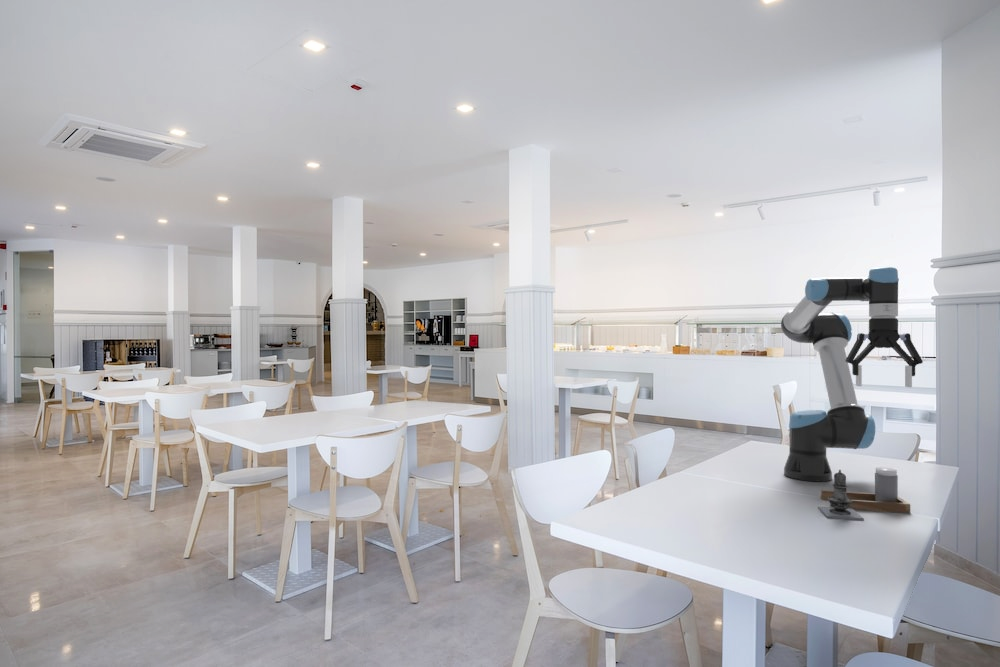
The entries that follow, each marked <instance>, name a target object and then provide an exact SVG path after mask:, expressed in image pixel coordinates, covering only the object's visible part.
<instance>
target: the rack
mask: <svg viewBox="0 0 1000 667" xmlns="http://www.w3.org/2000/svg"><path fill="white" fill-rule="evenodd" d="M833 494H834V490H828V489H827V490H824V489H820V499H821V500H825V501H826V500H829V499H828V497H832V496H833ZM846 495H847V498H848V499H851V500H852V502H851V505H850V507H849V508H851V509H853V510H855V511H873V512H885V513H902V514H911V504H910V503H909V502H907V501H906V500H904V499H903V498H901V497H899V496H898V503H897V502H881V501H875V492H874V493H873V492H861V491H860V492H858V491H846ZM829 504H830V503H829ZM829 507H832V506H831V504H830V505H829Z"/></svg>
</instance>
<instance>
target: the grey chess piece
mask: <svg viewBox="0 0 1000 667" xmlns="http://www.w3.org/2000/svg"><path fill="white" fill-rule="evenodd" d="M832 487H833V491H834V494H833V496H832V497H828V499H829V504H831V506H832V507H834V508H832V509H830V510H829V511H830V512H832V513H835V514H840V515H850V514H851V512H849V511H848V510H846V509H848V508H849V507H850V505H851V502H852V500H851V499H848V498H847V495H846V492H847V488H848V486H847V476H846V474H844V473H843V472H842V470H841V469H838V472H835V473H834V474H833V484H832Z"/></svg>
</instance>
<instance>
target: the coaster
mask: <svg viewBox="0 0 1000 667" xmlns="http://www.w3.org/2000/svg"><path fill="white" fill-rule="evenodd" d="M832 508H834V507H830V506H822V505H821V506H820V505H818V506H817V509H818V510H819V511H820V512H821V513H822V514H823V515H824V516H825V517H826V518H827V519H839V520H852V521H864V520H865V518H864V517H863V516H862V514H860V513H858V511H857V510H854V509H851V508H848V509H846V510H848V511H849V512H851V514H850V515H840V514H835V513H832V512H830V511H829V510H830V509H832Z"/></svg>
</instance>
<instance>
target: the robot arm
mask: <svg viewBox="0 0 1000 667" xmlns="http://www.w3.org/2000/svg"><path fill="white" fill-rule="evenodd" d="M899 279H900V278H899V273H898V268H896V267H892V266H891V267H890V266H889V267H887V266H886V267H885V266H884V267H874V268H870V270H869V272H868V276H867V277H866V276H864V277H817V278H816V277H815V278H810V279H808V280H807V282H806V285H805V288H804V292H805V293H804V294H805V296H804V297H803V298H802V299H801V300H800V301H799V303H798V304H796V305H795V307H794V308H793V309H792V310H788V311H787V312H786V313H785V314H784V316H782V319H781V322H780V328H781V331H782V332H783V334H784V335H785V336H786V337H787V338H788V339H789V340H791V341H793V342H797V343H802V344H803V343H805V344H812V346H813V349H814V351H816V352H819V353H818V354H819V357H820V358H819V359H820V363H821V367H822V372H823V378H824V382H825V387H826V392H827V396H828V401H829V406H830V408H829V410H827V412H826V411H825V410H821V409H810V410H808V409H807V410H799V411H795V412H792V413H791V414H790V416H789V423H788V428H789V441H788V442H789V443H788V444H789V446H788V447H789V452H788V453H789V454H788V457H787V460H786V462H785V465H784V468H783V474H784V476H786V477H788V478H791V479H795V480H800V481H807V482H827V481H831V480H832V479H833V472H832V469H831V466H830V462H829V461H828V458H827V449H829V448H830V449H852V450H857V449H858V450H861V449H862V450H863V449H865V450H866V449H868V448H869V447H870V446H872V444H873V443H874V441H875V436H876V422H875V419H874V418H873V416H871V415H868V414H866V413H865V409H864V408H863V407H862V406H860V405H859V404H858V400H857V395H856V392H855V391H856V390H855V386H856V387H863V386H862V385H863V384H862V383H863V382H862V381H863V380H862V377H863V376H862V374H863V373H862V372H863V369H862V367H863V365H860V364H861V362H862V361H863V360H864V359H865V358H866V357H867V356H868V355H870V353H871V352H872V351H873V350H874V349H876V348H877V349H878V348H879V349H882V348H883V349H884V348H885V349H889V348H890V349H893V350H894V351H895V352H896V353H897V354H898V355H899V356H900V358H902V360H903V361H904V362H905V363H906V364H907V365H904V378H905V379H904V384H905V385H904V387H906V388H913V377H915V376H916V366H917V365H921V364H923V362H924V361H923V359H922V357H921V356H920V354H919V352H918V350H917V348H916V347H915V345H914V343H913V341H912V337H911V333H907V332H906V333H905V332H903V333H901V334H899V319H898V318H897V317H898V316H899ZM840 301H841V302H842V301H844V302H845V301H850V302H851V301H852V302H854V301H858V302H859V301H860V302H868V317H870V318H869V319H868V333H867V334H866V333H863V332H861V333H858V334H856V341H855V343H854V344H853V346H852V348H851V350H850V352H849V353H848V355H847V352H846V347H847V346H848V345H849V342H850V341H851V339H852V336H853V335H852V334H853V332H852V330H853V329H852V324H851V322H850V320H849V319H848V318H849V317H847V316H846V315H845V314H842V313H837V312H836V313H834V312H828V313H827V312H826V313H823V311H824V310H825V308H826V307H828V306H829V304H830V303H832V302H840ZM866 339H867V340H869V343H868V344H867V345H866V347H865V348H864V349H862V351H861V352H860V353H859V354H858V352H859V351H860V349H861V347H862V346H863V344H864V342H865V341H866ZM899 340H901V341H902V342H903V344H904V346H905V348H906V350H907V351H908V353H907V352H906V351H905V350H904V349H903V348H902V347H901V345H900V344H899V343H898V341H899ZM857 354H858V355H857ZM909 354H910V355H909ZM849 364H850V365H852V367H851V368H852V374H851V371H850V367H849ZM852 375H853V376H855V386H854V383H853V378H852Z"/></svg>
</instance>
